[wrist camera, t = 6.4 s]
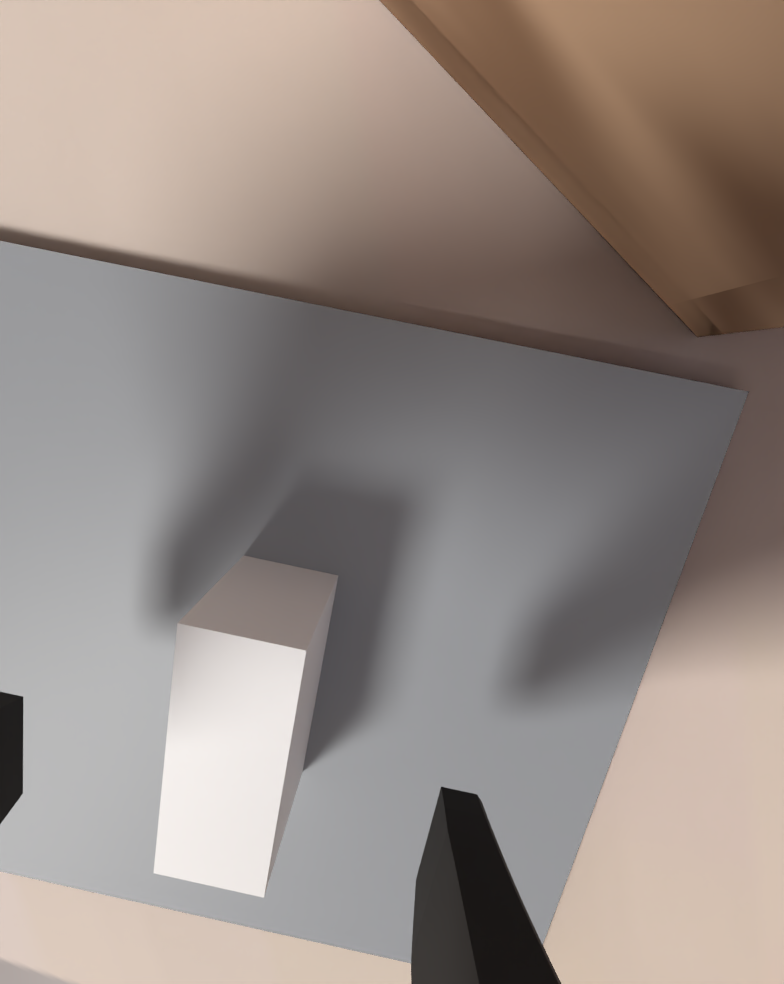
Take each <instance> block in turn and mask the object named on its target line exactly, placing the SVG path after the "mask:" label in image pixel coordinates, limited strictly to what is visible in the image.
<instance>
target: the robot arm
mask: <svg viewBox="0 0 784 984" xmlns="http://www.w3.org/2000/svg"><path fill="white" fill-rule="evenodd" d="M22 794H23V696H18V695H13V694H9V693H4V692H0V824H1V823H2V821H3V820H4V819H5V817H6V816H7V815H8V813H9V812H10V810H11V809H12V808H13V806H14V805H15V804H16V802H17V801H18V800H19V798H20V797H21V795H22ZM411 977H412V984H561V982H560V980H559V978H558V976H557V974H556V972H555V970H554V968H553V966H552V964H551V962H550V960H549V958H548V955H547V953H546V951H545V949H544V947H543V945H542V943H541V940H540V938H539V936H538V934H537V932H536V930H535V927H534V925H533V923H532V921H531V919H530V917H529V915H528V912H527V910H526V908H525V906H524V904H523V901H522V899H521V897H520V895H519V892H518V890H517V888H516V885H515V883H514V881H513V878H512V876H511V874H510V871H509V869H508V867H507V864H506V862H505V859H504V857H503V855H502V852H501V850H500V847H499V845H498V842H497V840H496V837H495V835H494V832H493V830H492V827H491V825H490V822H489V819H488V817H487V814H486V812H485V809H484V806H483V804H482V801H481V800H480V798H479V797H478V795H477V794H473V793H469V792H464V791H459V790H455V789H450V788H445V787H441V789H440V792H439V796H438V800H437V804H436V807H435V811H434V815H433V818H432V822H431V826H430V829H429V833H428V837H427V840H426V844H425V848H424V852H423V855H422V859H421V863H420V866H419V870H418V874H417V877H416V886H415V902H414V917H413V934H412V952H411Z"/></svg>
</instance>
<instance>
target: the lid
mask: <svg viewBox="0 0 784 984" xmlns="http://www.w3.org/2000/svg"><path fill="white" fill-rule="evenodd" d="M748 393H749V392H748V391H743V390H738V389H733V388H728V387H723V386H718V385H713V384H708V383H703V382H698V381H693V380H688V379H683V378H678V377H673V376H668V375H664V374H659V373H654V372H649V371H644V370H639V369H634V368H629V367H624V366H619V365H614V364H609V363H604V362H599V361H594V360H589V359H584V358H579V357H574V356H569V355H564V354H559V353H554V352H549V351H544V350H540V349H535V348H530V347H525V346H520V345H515V344H510V343H505V342H500V341H495V340H490V339H485V338H480V337H475V336H470V335H465V334H460V333H455V332H450V331H445V330H440V329H435V328H430V327H425V326H420V325H415V324H411V323H406V322H401V321H396V320H391V319H386V318H381V317H376V316H371V315H366V314H361V313H356V312H351V311H346V310H341V309H336V308H331V307H326V306H321V305H316V304H311V303H306V302H301V301H296V300H291V299H287V298H282V297H277V296H272V295H267V294H262V293H257V292H252V291H247V290H242V289H237V288H232V287H227V286H222V285H217V284H212V283H207V282H202V281H197V280H192V279H187V278H182V277H177V276H172V275H167V274H162V273H158V272H153V271H148V270H143V269H138V268H133V267H128V266H123V265H118V264H113V263H108V262H103V261H98V260H93V259H88V258H83V257H78V256H73V255H68V254H63V253H58V252H53V251H48V250H43V249H38V248H34V247H29V246H24V245H19V244H14V243H9V242H4V241H0V692H4V693H9V694H13V695H18V696H23V794H22V795H21V797H20V798H19V800H18V801H17V802H16V804H15V805H14V806H13V808H12V809H11V810H10V812H9V813H8V815H7V816H6V817H5V819H4V820H3V821H2V823H1V824H0V872H5V873H9V874H14V875H18V876H23V877H27V878H32V879H36V880H41V881H45V882H49V883H54V884H58V885H63V886H67V887H72V888H76V889H81V890H85V891H90V892H94V893H99V894H103V895H108V896H112V897H117V898H121V899H125V900H130V901H134V902H139V903H143V904H148V905H152V906H157V907H161V908H166V909H170V910H175V911H179V912H184V913H188V914H192V915H197V916H201V917H206V918H210V919H215V920H219V921H224V922H228V923H233V924H237V925H242V926H246V927H251V928H255V929H260V930H264V931H268V932H273V933H277V934H282V935H286V936H291V937H295V938H300V939H304V940H309V941H313V942H318V943H322V944H327V945H331V946H336V947H340V948H344V949H349V950H353V951H358V952H362V953H367V954H371V955H376V956H380V957H385V958H389V959H394V960H398V961H403V962H407V963H411V952H412V934H413V917H414V902H415V886H416V877H417V874H418V870H419V866H420V863H421V859H422V855H423V852H424V848H425V844H426V840H427V837H428V833H429V829H430V826H431V822H432V818H433V815H434V811H435V807H436V804H437V800H438V796H439V792H440V789H441V787H445V788H450V789H455V790H459V791H464V792H469V793H473V794H477V795H478V797H479V798H480V800H481V801H482V804H483V806H484V809H485V812H486V814H487V817H488V819H489V822H490V825H491V827H492V830H493V832H494V835H495V837H496V840H497V842H498V845H499V847H500V850H501V852H502V855H503V857H504V859H505V862H506V864H507V867H508V869H509V871H510V874H511V876H512V878H513V881H514V883H515V885H516V888H517V890H518V892H519V895H520V897H521V899H522V901H523V904H524V906H525V908H526V910H527V912H528V915H529V917H530V919H531V921H532V923H533V925H534V927H535V930H536V932H537V934H538V936H539V938H540V940H541V943H542V945H543V942H544V940H545V937H546V934H547V932H548V929H549V926H550V924H551V921H552V918H553V916H554V913H555V910H556V908H557V905H558V902H559V900H560V897H561V894H562V891H563V889H564V886H565V883H566V881H567V878H568V875H569V873H570V870H571V867H572V865H573V862H574V859H575V857H576V854H577V851H578V849H579V846H580V843H581V841H582V838H583V835H584V832H585V830H586V827H587V824H588V822H589V819H590V816H591V814H592V811H593V808H594V806H595V803H596V800H597V798H598V795H599V792H600V790H601V787H602V784H603V782H604V779H605V776H606V773H607V771H608V768H609V765H610V763H611V760H612V757H613V755H614V752H615V749H616V747H617V744H618V741H619V739H620V736H621V733H622V731H623V728H624V725H625V723H626V720H627V717H628V714H629V712H630V709H631V706H632V704H633V701H634V698H635V696H636V693H637V690H638V688H639V685H640V682H641V680H642V677H643V674H644V672H645V669H646V666H647V664H648V661H649V658H650V655H651V653H652V650H653V647H654V645H655V642H656V639H657V637H658V634H659V631H660V629H661V626H662V623H663V621H664V618H665V615H666V613H667V610H668V607H669V605H670V602H671V599H672V596H673V594H674V591H675V588H676V586H677V583H678V580H679V578H680V575H681V572H682V570H683V567H684V564H685V562H686V559H687V556H688V554H689V551H690V548H691V546H692V543H693V540H694V537H695V535H696V532H697V529H698V527H699V524H700V521H701V519H702V516H703V513H704V511H705V508H706V505H707V503H708V500H709V497H710V495H711V492H712V489H713V487H714V484H715V481H716V478H717V476H718V473H719V470H720V468H721V465H722V462H723V460H724V457H725V454H726V452H727V449H728V446H729V444H730V441H731V438H732V436H733V433H734V430H735V428H736V425H737V422H738V419H739V417H740V414H741V411H742V409H743V406H744V403H745V401H746V398H747V395H748Z"/></svg>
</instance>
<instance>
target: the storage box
mask: <svg viewBox="0 0 784 984" xmlns="http://www.w3.org/2000/svg"><path fill="white" fill-rule="evenodd" d="M380 1H381V2H382V3H383V4H384V5H385V6H386V8H387V9H388V10H389V11H390V12H391V13H392V14H393V15H394V16H395V17H396V18H397V19H398V20H399V21H400V22H401V23H402V24H403V26H404V27H405V28H406V29H407V30H408V31H409V32H410V33H411V34H412V35H413V36H414V37H415V38H416V39H417V40H418V41H419V42H420V44H421V45H422V46H423V47H424V48H425V49H426V50H427V51H428V52H429V53H430V54H431V55H432V56H433V57H434V58H435V59H436V61H437V62H438V63H439V64H440V65H441V66H442V67H443V68H444V69H445V70H446V71H447V72H448V73H449V74H450V75H451V76H452V77H453V79H454V80H455V81H456V82H457V83H458V84H459V85H460V86H461V87H462V88H463V89H464V90H465V91H466V92H467V93H468V94H469V95H470V97H471V98H472V99H473V100H474V101H475V102H476V103H477V104H478V105H479V106H480V107H481V108H482V109H483V110H484V111H485V112H486V113H487V115H488V116H489V117H490V118H491V119H492V120H493V121H494V122H495V123H496V124H497V125H498V126H499V127H500V128H501V129H502V130H503V132H504V133H505V134H506V135H507V136H508V137H509V138H510V139H511V140H512V141H513V142H514V143H515V144H516V145H517V146H518V147H519V148H520V150H521V151H522V152H523V153H524V154H525V155H526V156H527V157H528V158H529V159H530V160H531V161H532V162H533V163H534V164H535V165H536V166H537V168H538V169H539V170H540V171H541V172H542V173H543V174H544V175H545V176H546V177H547V178H548V179H549V180H550V181H551V182H552V183H553V185H554V186H555V187H556V188H557V189H558V190H559V191H560V192H561V193H562V194H563V195H564V196H565V197H566V198H567V199H568V200H569V201H570V203H571V204H572V205H573V206H574V207H575V208H576V209H577V210H578V211H579V212H580V213H581V214H582V215H583V216H584V217H585V218H586V219H587V221H588V222H589V223H590V224H591V225H592V226H593V227H594V228H595V229H596V230H597V231H598V232H599V233H600V234H601V235H602V236H603V237H604V239H605V240H606V241H607V242H608V243H609V244H610V245H611V246H612V247H613V248H614V249H615V250H616V251H617V252H618V253H619V254H620V256H621V257H622V258H623V259H624V260H625V261H626V262H627V263H628V264H629V265H630V266H631V267H632V268H633V269H634V270H635V271H636V272H637V274H638V275H639V276H640V277H641V278H642V279H643V280H644V281H645V282H646V283H647V284H648V285H649V286H650V287H651V288H652V289H653V290H654V292H655V293H656V294H657V295H658V296H659V297H660V298H661V299H662V300H663V301H664V302H665V303H666V304H667V305H668V306H669V307H670V308H671V310H672V311H673V312H674V313H675V314H676V315H677V316H678V317H679V318H680V319H681V320H682V321H683V322H684V323H685V324H686V325H687V327H688V328H689V329H690V330H691V331H692V332H693V333H694V334H695V335H696V336H697V337H703V336H711V335H720V334H728V333H737V332H745V331H754V330H762V329H771V328H780V327H784V0H380Z"/></svg>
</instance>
